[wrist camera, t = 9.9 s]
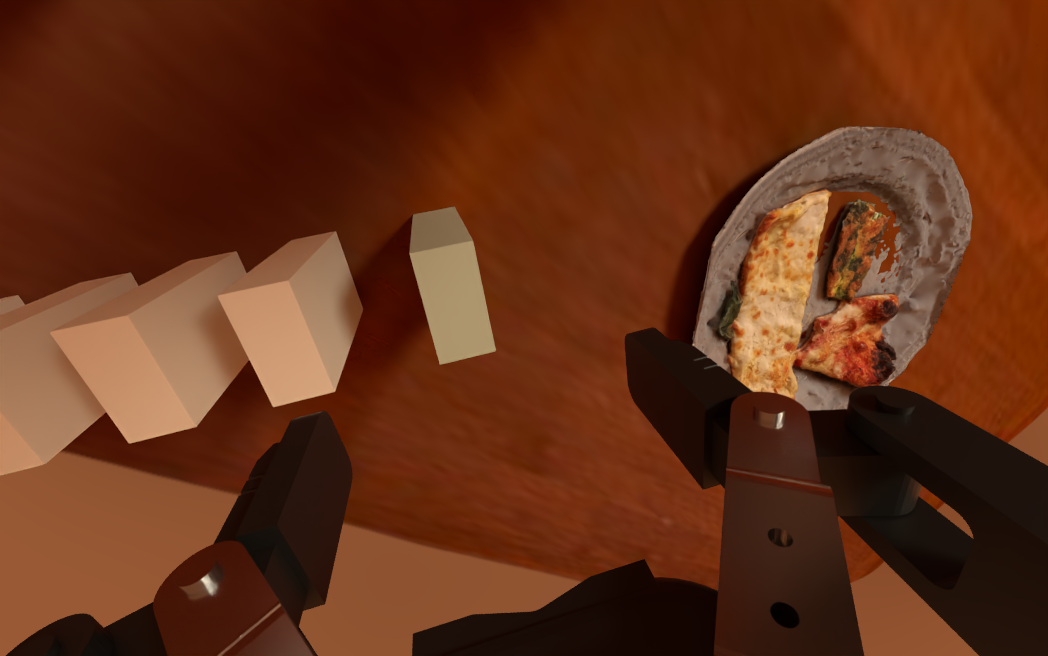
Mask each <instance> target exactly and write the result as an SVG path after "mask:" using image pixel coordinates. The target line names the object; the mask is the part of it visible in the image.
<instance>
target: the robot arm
mask: <svg viewBox="0 0 1048 656" xmlns="http://www.w3.org/2000/svg"><path fill="white" fill-rule="evenodd" d="M625 352H626V366H627V379H628V386H629V390H630V393H631V396H632V398H633V400H634V402H635V404H636V405H637V406H638V408H639V409H640V410H641V411H642V413H643V414H644V415H645V416H646V418H647V419H648V420H649V422H650V423H651V424H652V425H653V427H654V428H655V429H656V430H657V432H658V433H659V434H660V436H661V437H662V438H663V439H664V441H665V442H666V443H667V444H668V446H669V447H670V448H671V450H672V451H673V452H674V453H675V455H676V456H677V457H678V458H679V460H680V461H681V462H682V463H683V465H684V466H685V467H686V469H687V470H688V471H689V472H690V474H691V475H692V476H693V477H694V479H695V480H696V481H697V483H698V484H699V485H700V486H701V488H702V489H707V488H710V487H713V486H717V485H720V484H721V485H722V486H723V488H724V489H725V496H724V511H723V525H722V540H721V555H720V569H719V584H718V591H717V590H715V589H712V588H710V587H708V586H705V585H701V584H698V583H695V582H692V581H687V580H682V579H676V578H664V577H659V578H654V576H653V574H652V573H651V571H650V569H649V567H648V565H647V563H646V561H645V559H644V560H640V561H637V562H634V563H631V564H628V565H625V566H622V567H619V568H616V569H612V570H609V571H606V572H603V573H600V574H597V575H594V576H591V577H589V578H587V579H586V580H584V581H583V582H581V583H580V584H578V585H577V586H575V587H574V588H572V589H570V590H569V591H567V592H566V593H564V594H563V595H561V596H560V597H558V598H557V599H555V600H554V601H552V602H550V603H549V604H547V605H546V606H544V607H543V608H541V609H539V610H537V611H533V612H517V613H497V614H474V615H470V616H467V617H464V618H461V619H457V620H454V621H451V622H448V623H445V624H442V625H439V626H436V627H432V628H430V629H427V630H423V631H420V632H417V633H414V634H413V648H412V656H864V652H863V647H862V642H861V637H860V632H859V627H858V621H857V617H856V611H855V605H854V601H853V595H852V590H851V585H850V579H849V574H848V569H847V564H846V559H845V553H844V548H843V543H842V538H841V532H840V527H839V522H838V517H837V516H840V517H841V518H842V519H843V520H844V521H845V522H846V523H847V524H848V525H849V526H850V527H851V528H852V529H853V530H854V531H855V532H856V533H857V534H858V535H859V536H860V537H861V538H862V539H863V540H864V541H865V542H866V543H867V544H868V545H869V546H870V547H871V548H872V549H873V550H874V551H875V552H876V553H877V554H878V555H879V556H880V557H881V558H882V559H883V560H884V561H885V562H886V563H887V564H888V565H889V566H890V567H891V568H892V569H893V570H894V571H895V572H896V573H897V574H898V575H899V576H900V577H901V578H902V579H903V580H904V581H905V582H906V583H907V584H908V585H909V586H910V587H911V588H912V589H913V590H914V591H915V592H916V593H917V594H918V595H919V596H920V597H921V598H922V599H923V600H924V601H925V602H926V603H927V604H928V605H929V606H930V607H931V608H932V609H933V610H934V611H935V612H936V613H937V614H938V615H939V616H940V617H941V618H942V619H943V620H944V621H945V622H946V623H947V624H948V625H949V626H950V627H951V628H952V629H953V630H954V631H955V632H956V633H957V634H958V635H959V636H960V637H961V638H962V639H963V640H964V641H965V642H966V643H967V644H968V645H969V646H970V647H971V648H972V649H973V650H974V651H975V652H976V653H977V654H978V655H979V656H1048V466H1047V465H1045V464H1044V463H1042V462H1040V461H1038V460H1036V459H1035V458H1033V457H1031V456H1029V455H1028V454H1025V453H1024V452H1022V451H1020V450H1019V449H1017V448H1015V447H1013V446H1012V445H1010V444H1008V443H1006V442H1004V441H1003V440H1001V439H999V438H997V437H995V436H994V435H992V434H990V433H988V432H987V431H985V430H983V429H981V428H979V427H978V426H976V425H974V424H972V423H971V422H969V421H967V420H965V419H963V418H962V417H960V416H958V415H956V414H955V413H953V412H951V411H949V410H947V409H946V408H944V407H942V406H940V405H938V404H937V403H935V402H933V401H931V400H930V399H928V398H926V397H924V396H922V395H920V394H917V393H915V392H912V391H909V390H906V389H902V388H897V387H891V386H880V385H874V386H865V387H861V388H858V389H856V390H854V391H853V392H852V393H851V394H850V396H849V400H848V405H847V409H834V410H806V408H805V407H804V406H803V405H801V404H800V403H799V402H797V401H796V400H794V399H792V398H789V397H787V396H784V395H781V394H777V393H772V392H753V391H752V390H750V389H749V388H748V387H746V386H745V385H744V384H743V383H741V382H740V381H739V380H737V379H736V378H735V377H734V376H732V375H731V374H730V373H728V372H727V371H726V370H725V369H723V368H722V367H721V366H718V365H717V363H716V362H714V361H713V360H712V359H710V358H707V356H706V355H705V354H704V353H703V352H701V351H700V350H699V349H697V348H696V347H695V346H693V345H690V344H687V343H684V342H682V341H679V340H673V341H670V340H669V339H668V338H667V337H665V336H664V335H663V334H662V333H661V332H659V331H658V330H657V329H656V328H648V329H644V330H640V331H636V332H633V333H629V334H627V335H626V336H625ZM351 483H352V467H351V462H350V459H349V456H348V454H347V452H346V449H345V447H344V445H343V443H342V441H341V439H340V436H339V434H338V432H337V430H336V428H335V425H334V423H333V421H332V419H331V417H330V415H329V414H328V413H327V412H326V411H321V412H317V413H313V414H309V415H305V416H301V417H298V418H294V419H292V420H291V422H290V423H289V425H288V428H287V430H286V432H285V434H284V436H283V438H282V440H281V442H280V443H276V444H273V445H272V446H271V447H270V448H269V449H268V450H267V451H266V452H265V454H264V455H263V456H262V457H261V458H260V459H259V460H258V461H257V462H256V464H255V466H254V468H253V470H252V472H251V474H250V476H249V481H246V483H245V485H244V487H243V489H242V491H241V495H240V496H239V497H238V498H237V501H236V503H235V505H234V506H233V508H232V510H231V512H230V514H229V516H228V518H227V519H226V521H225V523H224V525H223V527H222V529H221V531H220V533H219V535H218V536H217V539H216V540H215V542H214V544H213V545H211V546H208V547H206V548H204V549H202V550H200V551H199V552H197V553H195V554H194V555H192V556H191V557H189V558H188V559H187V560H185V561H184V562H183V563H182V564H181V565H179V566H178V567H177V568H176V569H175V570H174V571H173V572H172V573H171V574H170V575H169V576H168V577H167V578H166V579H165V581H164V582H163V584H162V585H161V586H160V588H159V590H158V591H157V594H156V596H155V598H154V602H152V603H151V604H148V605H147V606H145V607H143V608H141V609H139V610H137V611H135V612H133V613H131V614H129V615H128V616H126V617H124V618H122V619H120V620H118V621H116V622H114V623H112V624H110V625H108V626H106V627H104V628H103V627H102V626H101V625H100V624H99V623H98V622H97V621H96V620H95V619H94V618H93V617H92V616H91V615H88V614H75V615H71V616H67V617H65V618H62V619H60V620H57V621H55V622H53V623H51V624H49V625H48V626H46V627H44V628H42V629H41V630H39V631H37V632H36V633H34V634H33V635H31V636H30V637H28V638H27V639H26V640H24V641H23V642H22V643H20V644H19V645H18V646H17V647H15V648H14V649H13V650H12V651H10V652H9V653H8V654H7V655H6V656H318V655H317V654H316V652H315V651H314V649H313V648H312V646H311V645H310V643H309V641H308V640H307V639H306V637H305V635H304V634H303V633H302V631H301V629H300V628H299V624H300V620H301V616H302V612H303V611H304V610H307V609H311V608H314V607H317V606H320V605H324V604H325V602H326V598H327V593H328V588H329V584H330V579H331V575H332V570H333V566H334V561H335V556H336V552H337V547H338V543H339V538H340V533H341V529H342V524H343V520H344V515H345V511H346V506H347V502H348V497H349V492H350V488H351ZM922 486H923V487H925V488H926V489H927V490H929V491H930V492H931V493H933V494H934V495H935V496H937V497H938V498H939V499H941V500H942V501H943V502H945V503H946V504H948V505H949V506H950V507H951V508H953V509H954V510H955V511H956V512H958V513H959V514H960V515H961V516H962V517H963V519H964V520H965V521H966V522H967V524H968V525H969V527H970V529H971V531H972V534H973V538H974V539H973V538H971V537H970V536H968V535H967V534H966V533H965V532H964V531H962V530H961V529H960V528H959V527H957V526H956V525H955V524H953V523H952V522H951V521H950V520H948V519H947V518H946V517H944V516H943V515H942V514H941V513H939V512H938V511H937V510H936V509H934V508H933V507H932V506H930V505H929V504H928V503H927V502H925V501H924V500H923V499H921V498H920V497H919V493H920V490H921V487H922Z"/></svg>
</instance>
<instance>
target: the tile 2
mask: <svg viewBox="0 0 1048 656" xmlns="http://www.w3.org/2000/svg"><path fill="white" fill-rule="evenodd" d="M136 287H138V284H137V282H136V281H135V279H134V277H133V275H132V274H131V272H130V273H125V274H120V275H115V276H110V277H105V278H100V279H95V280H90V281H85V282H80V283H78V284H75V285H73V286H71V287H68V288H66V289H63V290H61V291H58V292H56V293H53V294H51V295H49V296H46V297H44V298H41V299H39V300H36V301H34V302H31V303H29V304H26V305H24V306H22V307H19V308H17V309H14V310H12V311H9V312H7V313H4V314H2V315H0V476H1V475H5V474H9V473H13V472H17V471H21V470H25V469H29V468H33V467H37V466H41V465H44V464H46V463H47V462H48V461H50V460H51V459H52V458H53V457H54V456H55V455H57V454H58V453H59V452H60V451H61V450H62V449H64V448H65V447H66V446H67V445H68V444H69V443H71V442H72V441H73V440H74V439H75V438H77V437H78V436H79V435H80V434H81V433H82V432H84V431H85V430H86V429H87V428H88V427H89V426H91V425H92V424H93V423H94V422H95V421H96V420H98V419H99V418H100V417H101V416H102V415H103V414H105V413H106V411H105V409H104V408H103V407H102V405H101V404H100V402H99V401H98V400H97V398H96V397H95V395H94V394H93V393H92V391H91V390H90V388H89V387H88V386H87V384H86V383H85V381H84V380H83V379H82V377H81V376H80V374H79V373H78V372H77V370H76V369H75V367H74V366H73V365H72V363H71V362H70V360H69V359H68V358H67V356H66V355H65V353H64V352H63V351H62V349H61V348H60V347H59V345H58V344H57V342H56V341H55V340H54V338H53V337H52V335H51V334H50V333H49V332H50V331H52V330H54V329H56V328H58V327H60V326H62V325H64V324H66V323H68V322H70V321H72V320H74V319H76V318H78V317H80V316H81V315H83V314H85V313H87V312H89V311H91V310H93V309H95V308H97V307H99V306H101V305H103V304H105V303H107V302H109V301H111V300H113V299H115V298H117V297H119V296H121V295H123V294H125V293H127V292H129V291H131V290H133V289H134V288H136Z"/></svg>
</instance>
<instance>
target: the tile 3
mask: <svg viewBox="0 0 1048 656" xmlns="http://www.w3.org/2000/svg"><path fill="white" fill-rule="evenodd" d="M245 274H247V273H246V271H245V269H244V266H243V264H242V262H241V260H240V258H239V256H238V253H237V251H235V252H230V253H225V254H220V255H215V256H210V257H205V258H200V259H195V260H190V261H187V262H185V263H184V264H182V265H180V266H178V267H176V268H174V269H172V270H170V271H168V272H166V273H164V274H162V275H160V276H158V277H156V278H154V279H152V280H150V281H148V282H146V283H144V284H142V285H140V286H138V287H136V288H134V289H133V290H131V291H129V292H127V293H125V294H123V295H121V296H119V297H117V298H115V299H113V300H111V301H109V302H107V303H105V304H103V305H101V306H99V307H97V308H95V309H93V310H91V311H89V312H87V313H85V314H83V315H81V316H80V317H78V318H76V319H74V320H72V321H70V322H68V323H66V324H64V325H62V326H60V327H58V328H56V329H54V330H52V331H50V332H49V333H50V334H51V335H52V337H53V338H54V340H55V341H56V342H57V344H58V345H59V347H60V348H61V349H62V351H63V352H64V353H65V355H66V356H67V358H68V359H69V360H70V362H71V363H72V365H73V366H74V367H75V369H76V370H77V372H78V373H79V374H80V376H81V377H82V379H83V380H84V381H85V383H86V384H87V386H88V387H89V388H90V390H91V391H92V393H93V394H94V395H95V397H96V398H97V400H98V401H99V402H100V404H101V405H102V407H103V408H104V409H105V411H106V412H107V414H108V415H109V416H110V418H111V419H112V421H113V422H114V423H115V425H116V426H117V428H118V429H119V430H120V432H121V433H122V434H123V436H124V437H125V439H126V440H127V441H128V443H129V444H130V443H134V442H138V441H142V440H146V439H150V438H154V437H158V436H162V435H166V434H170V433H174V432H178V431H182V430H186V429H190V428H194V427H197V425H198V424H199V423H200V421H201V420H202V419H203V418H204V416H205V415H206V414H207V413H208V411H209V410H210V409H211V408H212V406H213V405H214V404H215V402H216V401H217V400H218V399H219V397H220V396H221V395H222V394H223V392H224V391H225V390H226V388H227V387H228V386H229V385H230V383H231V382H232V381H233V380H234V378H235V377H236V376H237V375H238V373H239V372H240V371H241V369H242V368H243V367H244V366H245V364H246V363H247V362H248V361H249V358H248V356H247V354H246V352H245V350H244V348H243V346H242V344H241V342H240V340H239V338H238V336H237V334H236V332H235V330H234V328H233V326H232V324H231V322H230V320H229V318H228V316H227V314H226V312H225V310H224V308H223V306H222V304H221V302H220V300H219V298H218V296H217V295H218V294H220V293H221V292H223V291H224V290H225V289H227V288H228V287H229V286H231V285H232V284H233V283H235V282H236V281H237V280H239V279H240V278H241V277H243V276H244V275H245Z"/></svg>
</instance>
